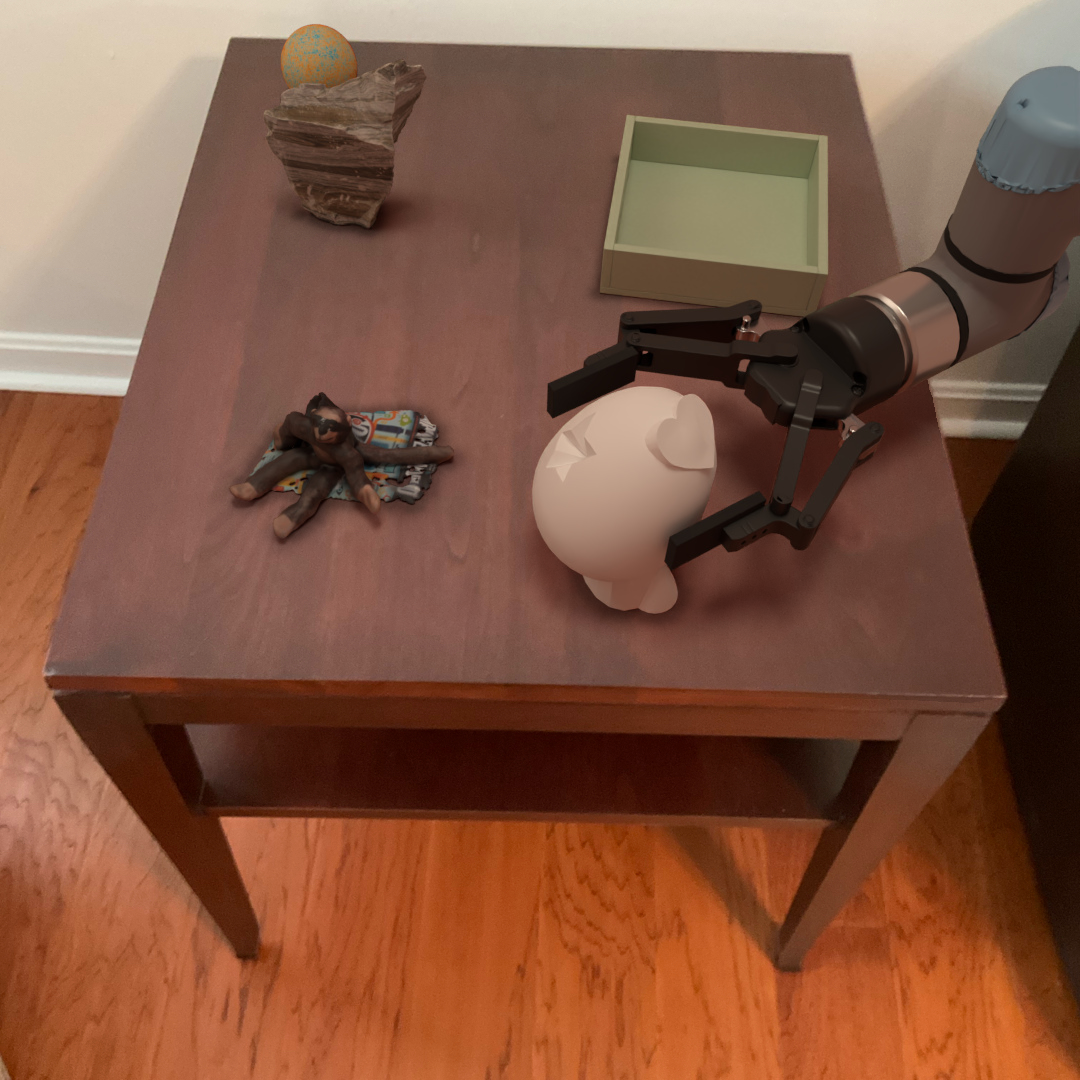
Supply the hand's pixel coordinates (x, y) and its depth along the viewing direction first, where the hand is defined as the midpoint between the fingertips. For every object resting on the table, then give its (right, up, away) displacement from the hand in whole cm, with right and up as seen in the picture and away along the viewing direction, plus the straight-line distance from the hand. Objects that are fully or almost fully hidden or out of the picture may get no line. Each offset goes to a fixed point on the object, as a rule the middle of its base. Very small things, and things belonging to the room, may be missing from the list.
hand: (606, 474), depth 63 cm
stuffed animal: (-18, +1, +11) cm, 22 cm away
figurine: (+1, -5, +8) cm, 9 cm away
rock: (-20, +25, +27) cm, 42 cm away
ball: (-25, +38, +35) cm, 58 cm away
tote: (+11, +22, +26) cm, 36 cm away
